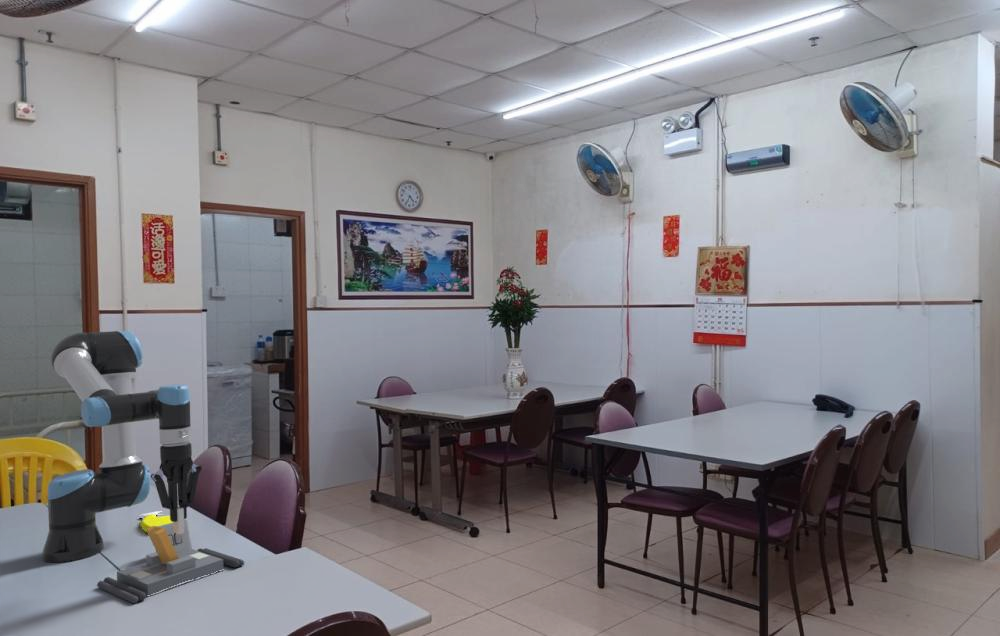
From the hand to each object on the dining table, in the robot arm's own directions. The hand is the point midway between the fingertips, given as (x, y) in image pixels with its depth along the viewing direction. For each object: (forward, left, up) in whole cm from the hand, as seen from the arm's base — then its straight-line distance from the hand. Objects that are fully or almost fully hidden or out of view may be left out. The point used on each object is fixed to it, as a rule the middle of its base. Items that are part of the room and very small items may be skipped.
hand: (179, 532), depth 182 cm
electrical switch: (-17, +6, -11) cm, 21 cm away
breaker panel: (0, -2, -11) cm, 11 cm away
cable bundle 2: (0, +10, -11) cm, 15 cm away
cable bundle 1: (0, -14, -11) cm, 18 cm away
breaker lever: (0, -2, -7) cm, 7 cm away
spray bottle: (-52, +20, -12) cm, 57 cm away
